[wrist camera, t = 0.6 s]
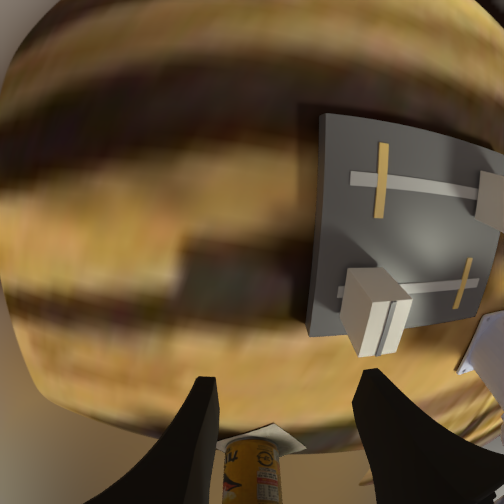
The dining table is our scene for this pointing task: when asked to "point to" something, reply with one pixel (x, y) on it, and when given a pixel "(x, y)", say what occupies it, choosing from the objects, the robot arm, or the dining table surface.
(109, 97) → the dining table surface
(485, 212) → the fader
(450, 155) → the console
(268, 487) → the condiment
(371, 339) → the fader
